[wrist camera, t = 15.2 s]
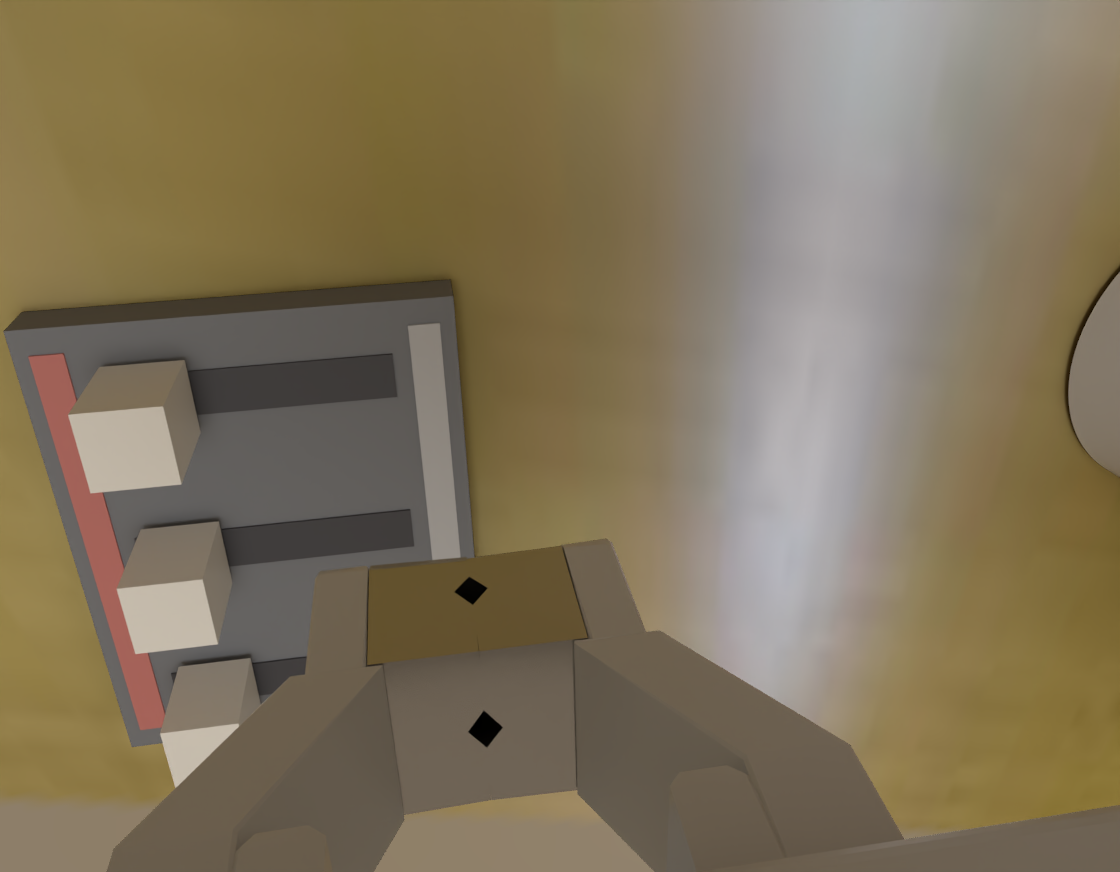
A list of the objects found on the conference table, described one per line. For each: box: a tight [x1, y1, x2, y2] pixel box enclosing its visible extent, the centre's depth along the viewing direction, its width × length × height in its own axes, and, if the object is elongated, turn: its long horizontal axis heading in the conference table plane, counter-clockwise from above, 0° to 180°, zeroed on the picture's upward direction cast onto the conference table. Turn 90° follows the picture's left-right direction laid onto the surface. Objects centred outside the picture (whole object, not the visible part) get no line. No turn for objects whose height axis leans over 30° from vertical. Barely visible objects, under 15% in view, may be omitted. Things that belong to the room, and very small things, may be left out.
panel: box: [4, 280, 474, 747], centre depth 41 cm, size 16×20×2 cm
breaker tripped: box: [117, 521, 232, 654], centre depth 38 cm, size 3×3×4 cm
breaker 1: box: [68, 360, 201, 493], centre depth 35 cm, size 3×3×4 cm
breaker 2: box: [160, 658, 261, 787], centre depth 41 cm, size 3×3×4 cm
